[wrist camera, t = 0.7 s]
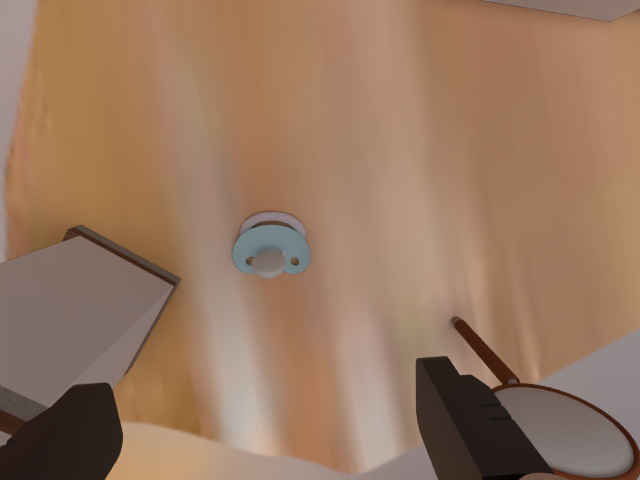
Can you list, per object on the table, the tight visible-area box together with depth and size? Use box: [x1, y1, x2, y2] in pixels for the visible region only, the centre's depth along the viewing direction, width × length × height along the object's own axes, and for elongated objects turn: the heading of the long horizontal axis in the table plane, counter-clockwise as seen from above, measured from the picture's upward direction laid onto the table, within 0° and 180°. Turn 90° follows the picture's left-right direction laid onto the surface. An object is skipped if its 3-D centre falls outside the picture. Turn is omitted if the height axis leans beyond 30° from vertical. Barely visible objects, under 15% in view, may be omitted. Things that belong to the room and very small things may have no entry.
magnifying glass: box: [454, 318, 640, 480], centre depth 29 cm, size 9×2×20 cm, turn 90°
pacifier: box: [232, 211, 310, 279], centre depth 33 cm, size 7×6×6 cm
